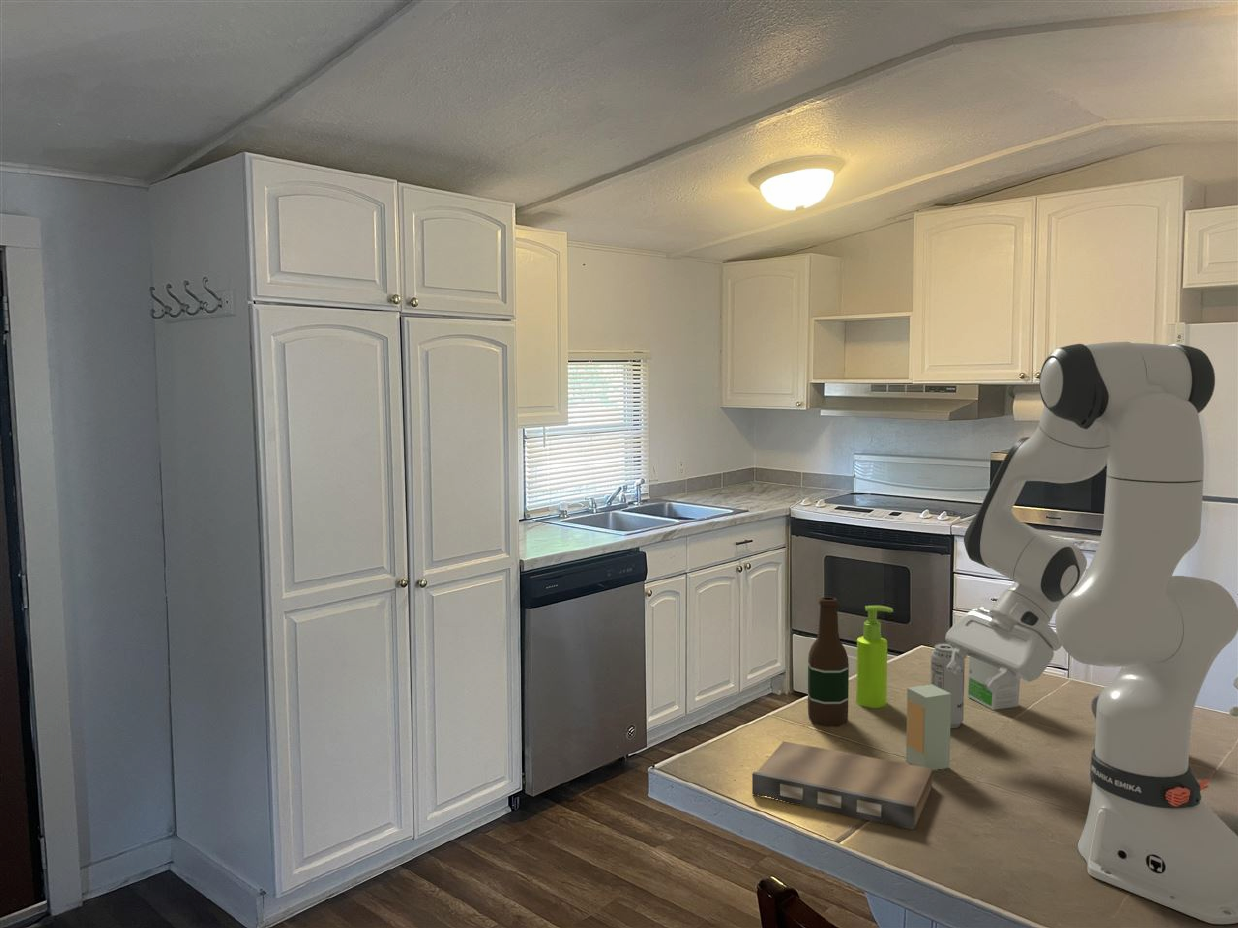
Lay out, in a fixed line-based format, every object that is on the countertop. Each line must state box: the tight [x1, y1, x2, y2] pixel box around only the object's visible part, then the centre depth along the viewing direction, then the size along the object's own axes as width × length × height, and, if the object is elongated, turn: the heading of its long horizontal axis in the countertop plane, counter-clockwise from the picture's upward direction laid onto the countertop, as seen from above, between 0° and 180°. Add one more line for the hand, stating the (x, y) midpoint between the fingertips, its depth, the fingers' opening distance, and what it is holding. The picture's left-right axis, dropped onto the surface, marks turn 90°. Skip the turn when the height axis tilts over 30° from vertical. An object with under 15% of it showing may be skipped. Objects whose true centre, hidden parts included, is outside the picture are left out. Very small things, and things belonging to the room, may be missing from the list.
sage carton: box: [905, 683, 951, 772], centre depth 155 cm, size 5×5×13 cm
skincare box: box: [966, 656, 1021, 711], centre depth 184 cm, size 8×7×16 cm
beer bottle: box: [807, 596, 850, 727], centre depth 175 cm, size 8×8×24 cm
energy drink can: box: [930, 642, 966, 729], centre depth 173 cm, size 6×6×15 cm
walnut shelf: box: [751, 741, 934, 831], centre depth 146 cm, size 25×16×4 cm, turn 62°
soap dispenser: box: [855, 605, 894, 709], centre depth 184 cm, size 6×7×20 cm
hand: (968, 680), depth 157 cm, fingers open, 8 cm apart
